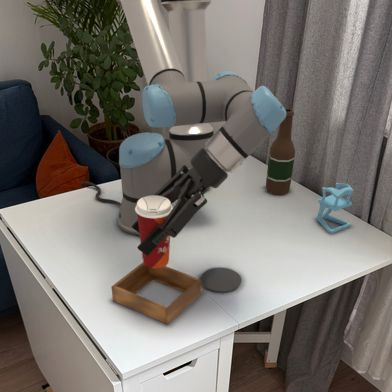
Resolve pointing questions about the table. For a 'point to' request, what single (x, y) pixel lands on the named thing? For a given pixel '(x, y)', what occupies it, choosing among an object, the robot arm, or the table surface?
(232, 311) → the table surface
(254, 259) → the table surface
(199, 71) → the robot arm
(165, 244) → the paper cup
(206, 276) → the coaster
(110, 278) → the table surface
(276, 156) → the beer bottle
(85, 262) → the table surface
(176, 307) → the wooden frame
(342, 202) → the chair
